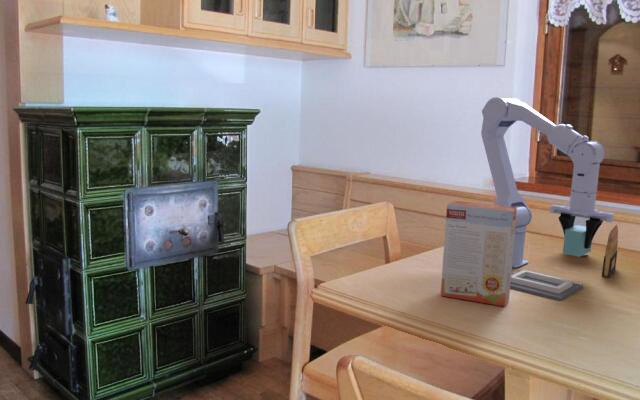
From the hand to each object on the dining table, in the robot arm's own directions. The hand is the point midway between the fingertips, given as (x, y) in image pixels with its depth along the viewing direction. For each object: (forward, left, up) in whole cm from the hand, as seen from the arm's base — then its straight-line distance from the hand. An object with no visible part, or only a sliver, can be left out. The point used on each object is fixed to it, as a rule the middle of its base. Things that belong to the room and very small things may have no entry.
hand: (577, 246), depth 152 cm
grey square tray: (-3, -13, -8) cm, 16 cm away
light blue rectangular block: (0, 0, -2) cm, 2 cm away
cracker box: (-10, -33, -9) cm, 35 cm away
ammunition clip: (+4, +13, -9) cm, 17 cm away
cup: (-9, +26, -9) cm, 29 cm away
